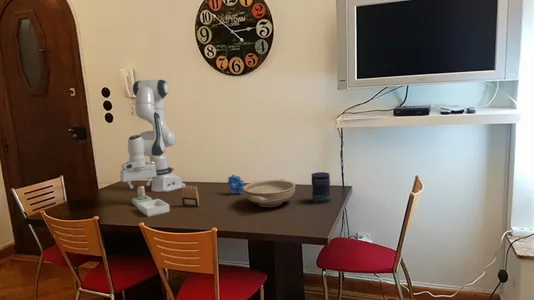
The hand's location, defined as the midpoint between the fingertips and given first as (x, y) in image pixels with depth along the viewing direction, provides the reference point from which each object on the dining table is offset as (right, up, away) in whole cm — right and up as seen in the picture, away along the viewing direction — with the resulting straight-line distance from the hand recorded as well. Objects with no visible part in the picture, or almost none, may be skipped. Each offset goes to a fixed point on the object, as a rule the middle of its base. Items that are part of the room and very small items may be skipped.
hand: (140, 187), depth 243 cm
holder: (+1, -10, +2) cm, 10 cm away
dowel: (+1, -10, +2) cm, 10 cm away
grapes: (+55, -5, +8) cm, 56 cm away
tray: (+12, -12, -14) cm, 22 cm away
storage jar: (+104, -6, -17) cm, 105 cm away
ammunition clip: (+32, -10, -9) cm, 34 cm away
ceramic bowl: (+76, -8, -15) cm, 78 cm away
